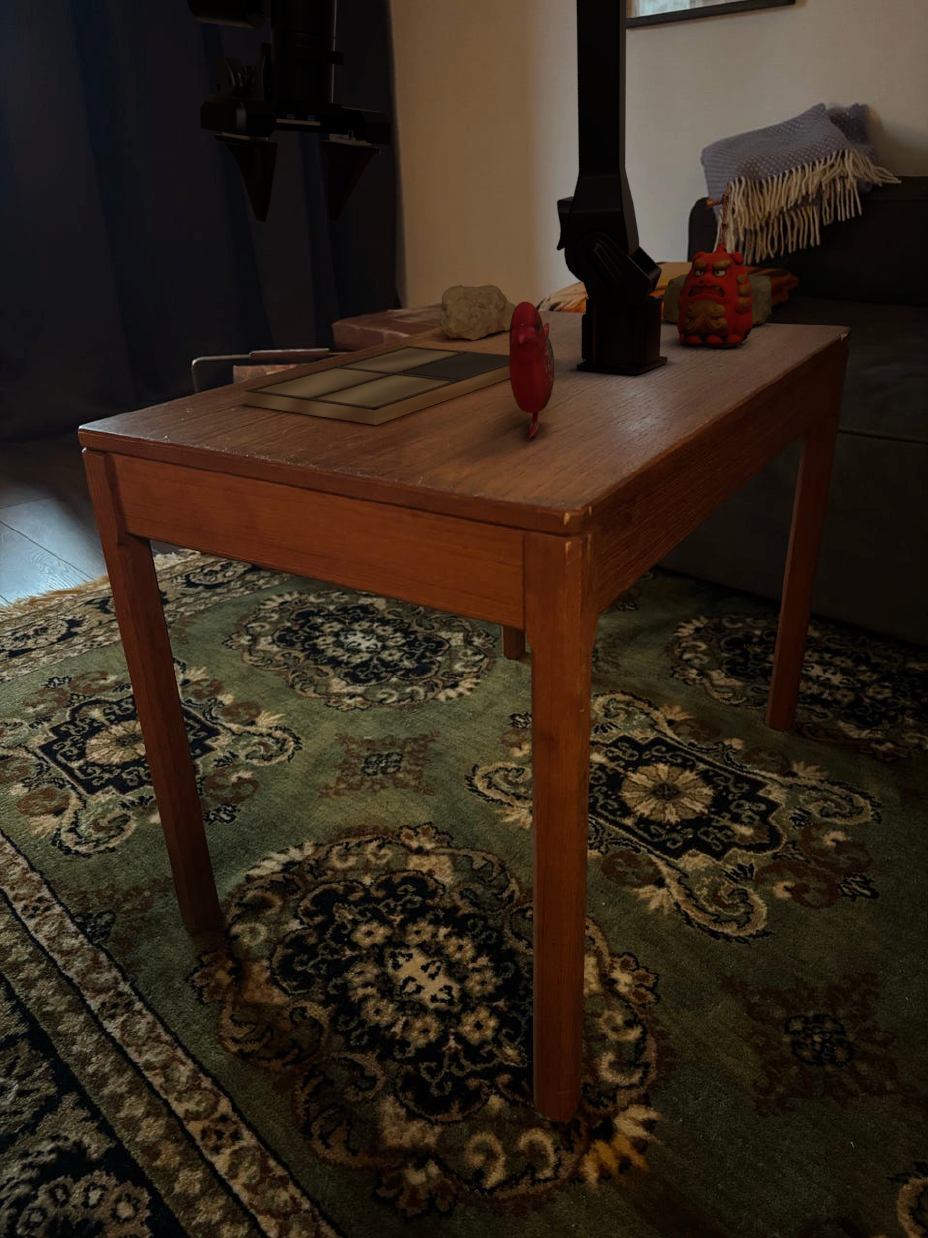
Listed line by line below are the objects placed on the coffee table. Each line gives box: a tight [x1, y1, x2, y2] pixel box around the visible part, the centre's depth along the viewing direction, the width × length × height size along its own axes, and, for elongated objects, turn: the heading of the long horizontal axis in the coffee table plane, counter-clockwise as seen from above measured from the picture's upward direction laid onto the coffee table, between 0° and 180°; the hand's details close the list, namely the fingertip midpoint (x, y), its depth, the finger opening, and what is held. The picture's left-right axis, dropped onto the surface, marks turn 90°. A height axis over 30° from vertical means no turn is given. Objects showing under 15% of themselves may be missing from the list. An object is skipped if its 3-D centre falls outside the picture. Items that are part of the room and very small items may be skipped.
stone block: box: [662, 273, 773, 325], centre depth 109 cm, size 6×12×5 cm, turn 57°
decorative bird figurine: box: [508, 301, 555, 440], centre depth 71 cm, size 3×18×10 cm, turn 170°
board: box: [245, 345, 510, 426], centre depth 87 cm, size 15×22×1 cm
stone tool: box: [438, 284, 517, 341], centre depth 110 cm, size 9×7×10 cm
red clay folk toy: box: [676, 182, 754, 348], centre depth 96 cm, size 8×7×15 cm
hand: (298, 220), depth 94 cm, fingers open, 9 cm apart
